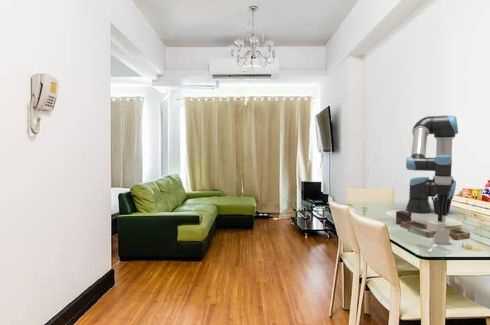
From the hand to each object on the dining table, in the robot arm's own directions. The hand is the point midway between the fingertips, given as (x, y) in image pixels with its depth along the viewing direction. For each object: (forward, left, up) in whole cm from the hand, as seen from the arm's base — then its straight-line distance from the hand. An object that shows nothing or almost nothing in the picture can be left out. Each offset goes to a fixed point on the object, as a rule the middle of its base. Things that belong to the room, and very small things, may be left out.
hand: (441, 227), depth 170 cm
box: (+7, -18, -2) cm, 20 cm away
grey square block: (+18, +15, -3) cm, 24 cm away
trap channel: (+5, 0, -2) cm, 5 cm away
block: (+4, 0, -2) cm, 4 cm away
